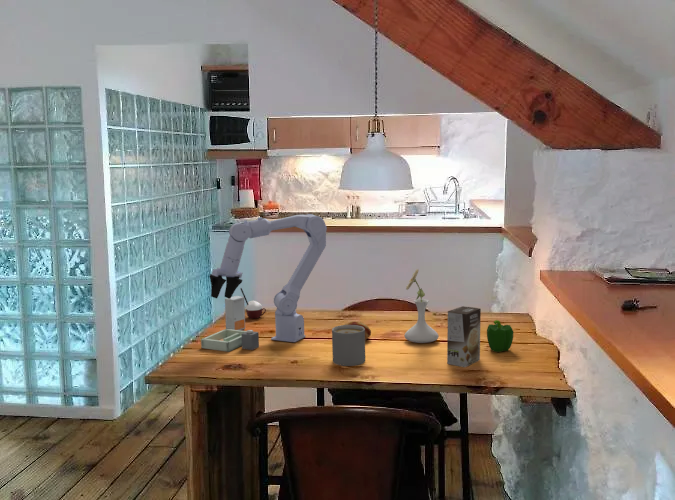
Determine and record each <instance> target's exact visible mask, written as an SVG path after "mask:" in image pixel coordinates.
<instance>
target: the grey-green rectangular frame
mask: <svg viewBox="0 0 675 500" xmlns="http://www.w3.org/2000/svg"><path fill="white" fill-rule="evenodd" d="M245 332H247V330H232V329H226V328H224V329H222V330H220V331H218V332H215V333H213V334H211V335H210V334H209V335H208V336H206V337H202V338H200V344H201V347H200V348H201V349H205V350H214V351H221V352H228V353H229V352H231V351H233V350H236V349H237V348H240V347H242V336H241V334H243V333H245Z"/></svg>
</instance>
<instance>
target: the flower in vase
mask: <svg viewBox="0 0 675 500" xmlns="http://www.w3.org/2000/svg"><path fill="white" fill-rule="evenodd" d="M418 274H419V268H416V269H415V271H414V272H413V273H412V277H411V278H410V279H409V280H408V284H407V285H406V287H405V290H407V291H408V290H409V289H410V288H411V287H412V285H413V283H415V284H416V285H417V287H418V291H417V292H416V293H417V297H416V299H414V300H413V302H414V304H415V305H416V308H417V321H416V323H415V324H414V325H413V326H411V327H410V328H409V329H408V330H407V331H406V332H405V333H404V338H405V340H407V341H408V342H412V343H415V344H417V343H418V344H419V343H420V344H425V343H426V344H427V343H431V342H434V341H437V340H438V339H439V337H440V336H439V334H438V332H437V331H436V330H435V329H433V327H431V326H430V325H428V323H427V322H426V317H425V316H426V308H427V304H428V303H429V302H430V301H429V299H425V298H423V297H425V296H426V294H425V292H424V290H423V289H422V288H421V287H420V285H419V283H418V281H417V276H418ZM419 297H420V298H419Z"/></svg>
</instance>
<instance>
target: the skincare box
mask: <svg viewBox="0 0 675 500" xmlns="http://www.w3.org/2000/svg"><path fill="white" fill-rule="evenodd" d="M224 311H225V313H224V314H225V329H232V330H240V331H244V330H245V329H246V315H245V313H246V305H245V298H244V296H241V295H240V296H239V295H235V296H232V297H231V298H230V299H229V298H226V297H225V298H224Z"/></svg>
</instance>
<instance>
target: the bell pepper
mask: <svg viewBox="0 0 675 500" xmlns="http://www.w3.org/2000/svg"><path fill="white" fill-rule="evenodd" d="M486 337H487V343H488V347H489V349H490V350H491V351H493V352H494V353H495V352H496V353H502V352H508V351H509V350H510V349H511V347H512V344H513V340H514V330H513V327H512V326H511V325H510V324H504V325H503V324H501V321H500V320H498V319H495V320H494V321H493V323H491V324H488V326H487V328H486Z"/></svg>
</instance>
